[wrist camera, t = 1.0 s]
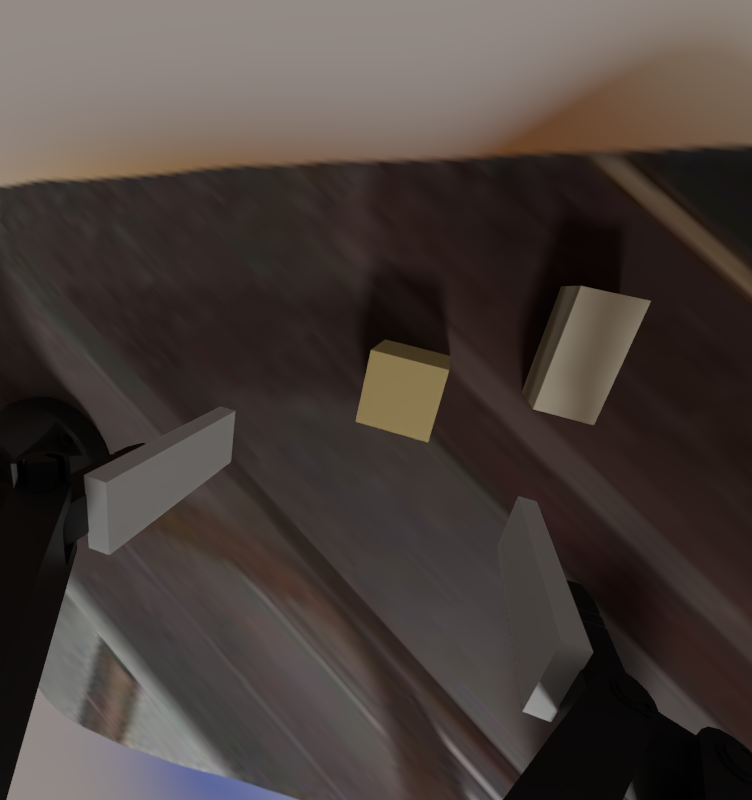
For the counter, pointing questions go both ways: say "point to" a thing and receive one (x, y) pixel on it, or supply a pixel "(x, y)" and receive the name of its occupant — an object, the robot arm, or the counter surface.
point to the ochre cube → (403, 389)
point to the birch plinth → (582, 351)
